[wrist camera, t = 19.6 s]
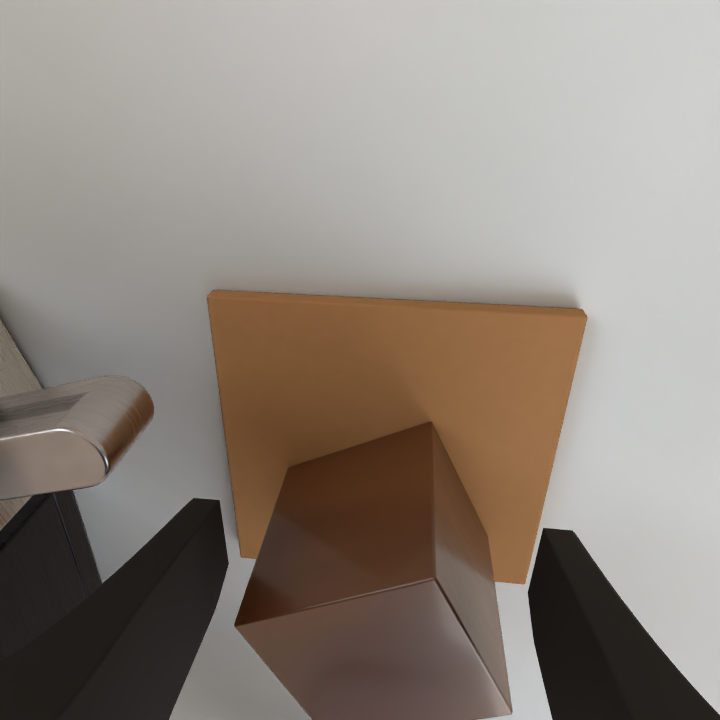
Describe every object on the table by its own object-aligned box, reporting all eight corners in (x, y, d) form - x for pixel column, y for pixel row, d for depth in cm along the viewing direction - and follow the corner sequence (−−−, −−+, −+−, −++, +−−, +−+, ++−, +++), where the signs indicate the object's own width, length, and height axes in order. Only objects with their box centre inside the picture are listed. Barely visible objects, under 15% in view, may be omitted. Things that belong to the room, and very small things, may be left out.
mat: (583, 307, 13) (588, 316, 12) (522, 571, 17) (525, 585, 16) (212, 288, 13) (205, 296, 13) (244, 546, 18) (240, 558, 17)
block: (488, 535, 16) (513, 715, 11) (354, 569, 17) (330, 743, 13) (431, 419, 14) (435, 578, 10) (286, 467, 15) (232, 625, 11)
